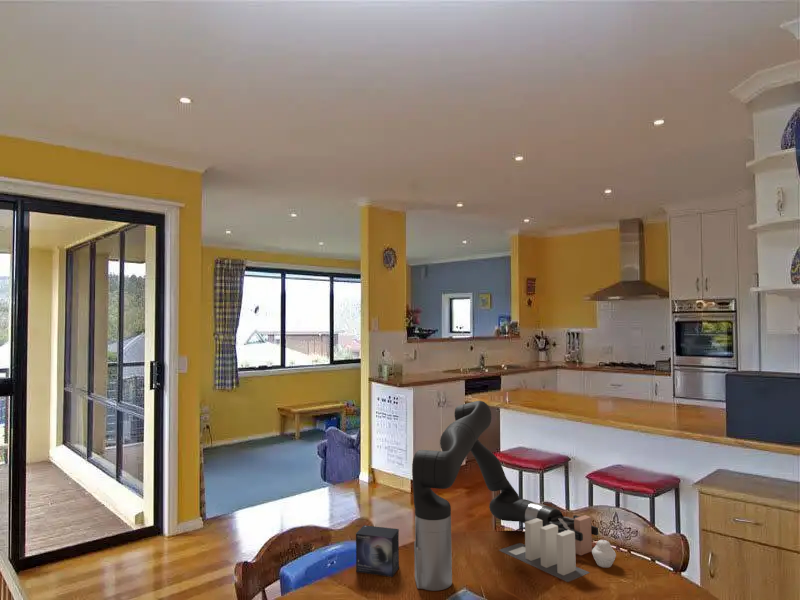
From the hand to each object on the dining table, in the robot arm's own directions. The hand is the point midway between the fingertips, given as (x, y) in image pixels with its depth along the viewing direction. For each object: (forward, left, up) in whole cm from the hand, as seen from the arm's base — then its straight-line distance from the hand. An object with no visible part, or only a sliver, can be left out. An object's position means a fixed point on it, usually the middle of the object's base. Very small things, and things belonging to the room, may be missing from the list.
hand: (589, 534), depth 156 cm
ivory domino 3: (-11, -9, -6) cm, 15 cm away
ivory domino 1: (-16, 0, -6) cm, 17 cm away
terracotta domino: (-1, +2, -6) cm, 6 cm away
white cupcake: (+1, -7, -6) cm, 9 cm away
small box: (-60, -2, -6) cm, 61 cm away
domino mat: (-15, -2, -6) cm, 16 cm away
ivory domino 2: (-13, -5, -6) cm, 15 cm away
